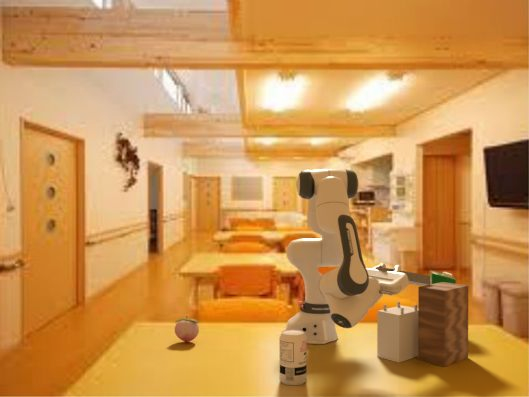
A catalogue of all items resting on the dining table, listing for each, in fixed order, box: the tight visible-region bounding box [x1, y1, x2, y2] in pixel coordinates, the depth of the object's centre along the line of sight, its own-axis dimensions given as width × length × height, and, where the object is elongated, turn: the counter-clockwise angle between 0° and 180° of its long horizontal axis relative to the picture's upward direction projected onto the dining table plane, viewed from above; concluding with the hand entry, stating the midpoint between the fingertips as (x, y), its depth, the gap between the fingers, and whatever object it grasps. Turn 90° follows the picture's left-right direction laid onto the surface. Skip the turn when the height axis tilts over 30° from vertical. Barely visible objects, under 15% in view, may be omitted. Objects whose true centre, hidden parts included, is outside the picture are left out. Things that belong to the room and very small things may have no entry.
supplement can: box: [279, 329, 308, 386], centre depth 175 cm, size 8×8×15 cm
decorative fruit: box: [174, 316, 200, 343], centre depth 219 cm, size 9×8×10 cm
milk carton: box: [429, 270, 457, 284], centre depth 232 cm, size 9×9×25 cm
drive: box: [376, 267, 430, 287], centre depth 197 cm, size 22×4×3 cm, turn 123°
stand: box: [417, 282, 469, 368], centre depth 198 cm, size 15×10×25 cm, turn 131°
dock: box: [376, 301, 418, 363], centre depth 202 cm, size 14×9×18 cm, turn 131°
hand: (391, 265), depth 195 cm, fingers closed on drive, 5 cm apart
